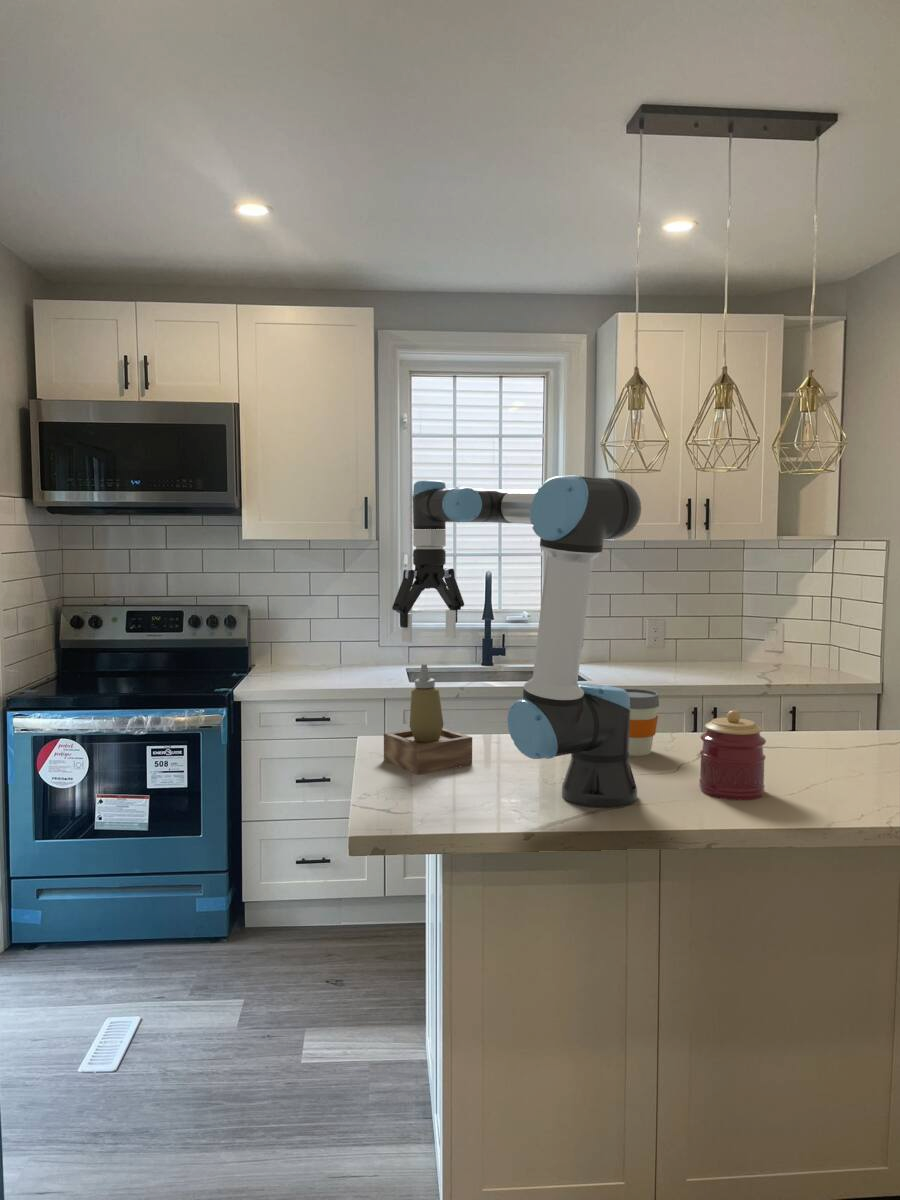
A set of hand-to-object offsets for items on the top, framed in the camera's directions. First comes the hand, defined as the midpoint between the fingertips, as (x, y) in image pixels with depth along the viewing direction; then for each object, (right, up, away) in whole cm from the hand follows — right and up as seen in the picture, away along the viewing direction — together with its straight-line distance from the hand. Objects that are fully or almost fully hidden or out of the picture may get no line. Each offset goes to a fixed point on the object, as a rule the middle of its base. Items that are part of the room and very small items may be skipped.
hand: (429, 639), depth 203 cm
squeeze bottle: (0, -24, +2) cm, 24 cm away
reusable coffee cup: (+50, -29, +13) cm, 59 cm away
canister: (+64, -32, -21) cm, 74 cm away
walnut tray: (0, -30, +2) cm, 30 cm away
